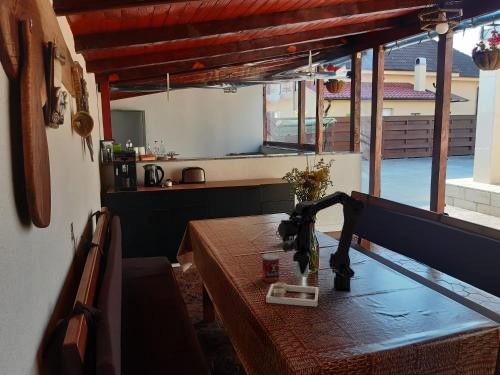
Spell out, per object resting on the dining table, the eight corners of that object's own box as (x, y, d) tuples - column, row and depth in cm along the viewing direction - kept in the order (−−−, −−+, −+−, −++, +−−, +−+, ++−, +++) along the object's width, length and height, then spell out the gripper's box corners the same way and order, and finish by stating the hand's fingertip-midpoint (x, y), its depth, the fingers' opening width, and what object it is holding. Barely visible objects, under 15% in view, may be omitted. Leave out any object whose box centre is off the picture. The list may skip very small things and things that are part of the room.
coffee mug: (295, 241, 249) (295, 225, 248) (295, 245, 241) (295, 228, 239) (276, 241, 250) (276, 225, 249) (275, 245, 242) (275, 228, 240)
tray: (318, 292, 174) (318, 287, 174) (316, 306, 161) (317, 301, 160) (271, 288, 178) (271, 283, 178) (266, 302, 165) (266, 297, 164)
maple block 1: (286, 292, 175) (286, 283, 174) (284, 295, 171) (284, 286, 170) (277, 291, 176) (277, 282, 175) (274, 294, 172) (274, 285, 172)
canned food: (265, 283, 184) (265, 259, 183) (260, 276, 192) (260, 254, 190) (281, 281, 186) (281, 257, 185) (275, 275, 194) (276, 252, 192)
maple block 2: (283, 297, 169) (283, 288, 169) (283, 302, 165) (283, 292, 165) (273, 297, 169) (273, 288, 169) (273, 302, 165) (273, 292, 165)
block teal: (308, 273, 169) (308, 262, 169) (307, 277, 165) (307, 266, 164) (297, 272, 170) (297, 262, 169) (296, 276, 166) (296, 265, 165)
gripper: (286, 227, 176) (286, 262, 178) (280, 239, 158) (279, 278, 160) (312, 229, 173) (312, 264, 176) (309, 241, 155) (308, 280, 158)
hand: (302, 271), depth 167 cm, fingers closed on block teal, 4 cm apart
